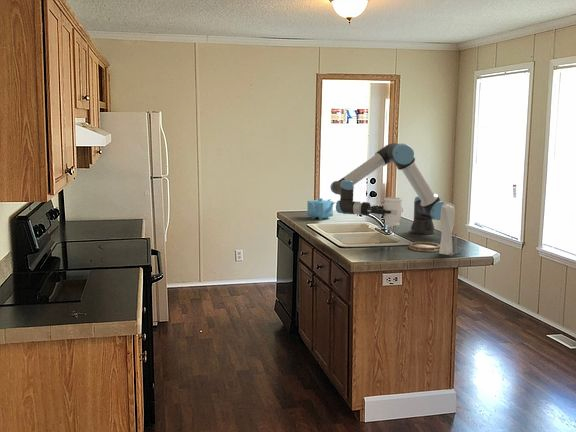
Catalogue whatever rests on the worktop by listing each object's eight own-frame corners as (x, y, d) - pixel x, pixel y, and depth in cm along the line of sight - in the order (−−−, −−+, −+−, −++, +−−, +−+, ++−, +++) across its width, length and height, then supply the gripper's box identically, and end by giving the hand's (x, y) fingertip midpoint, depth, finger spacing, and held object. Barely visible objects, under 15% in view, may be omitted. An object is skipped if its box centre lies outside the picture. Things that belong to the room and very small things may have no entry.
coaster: (413, 244, 348) (413, 240, 347) (443, 247, 340) (443, 243, 340) (405, 249, 333) (405, 246, 332) (436, 252, 325) (436, 249, 325)
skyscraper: (449, 256, 318) (452, 203, 314) (435, 254, 323) (438, 202, 319) (457, 254, 324) (459, 201, 320) (443, 251, 330) (445, 200, 325)
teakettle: (305, 216, 446) (306, 196, 444) (331, 216, 448) (331, 196, 446) (309, 220, 427) (309, 200, 425) (335, 220, 429) (336, 200, 427)
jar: (401, 226, 337) (402, 199, 335) (382, 225, 339) (383, 199, 337) (401, 223, 347) (402, 197, 345) (383, 222, 349) (384, 197, 347)
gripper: (368, 212, 361) (405, 215, 351) (355, 217, 340) (393, 220, 331) (369, 199, 359) (405, 202, 350) (355, 204, 339) (394, 207, 329)
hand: (399, 211), depth 340 cm, fingers closed on jar, 10 cm apart
